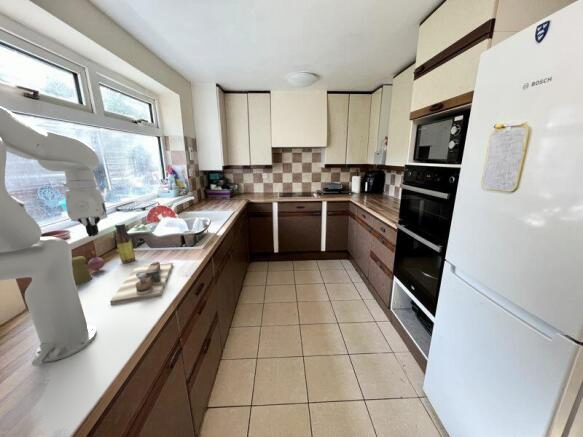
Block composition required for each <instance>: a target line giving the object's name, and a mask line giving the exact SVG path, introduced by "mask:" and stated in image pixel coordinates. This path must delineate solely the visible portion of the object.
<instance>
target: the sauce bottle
mask: <svg viewBox="0 0 583 437" xmlns="http://www.w3.org/2000/svg"><path fill="white" fill-rule="evenodd" d="M114 227H115V229H116V236H115V242H116V246H117V250H118V255H119V259H120V261H121V263H123V264H127V263H131V262H134V261H135V260H136V254H135V250H134V247H133V242H132V237H131V236H130V234H129V233H128V231H127V228H126V223H124V222H120V223H117V224H115V226H114Z"/></svg>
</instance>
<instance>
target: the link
mask: <svg viewBox="0 0 583 437" xmlns="http://www.w3.org/2000/svg"><path fill="white" fill-rule="evenodd" d="M160 264H161V263H160V261H155V262H152V263H150V264H149V265H148V266H149V268H148V269H147V271H150V270H157V269H159V270H160ZM137 278H138V279H140V281H139V282H137V283H136V289H137V291H138V292H144V291H147V290H149V289H151V287H152V282H153V280H154V277H153V274H152V275H146V273H142V274H139V275H138V276H137Z"/></svg>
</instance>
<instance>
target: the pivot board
mask: <svg viewBox="0 0 583 437" xmlns="http://www.w3.org/2000/svg"><path fill="white" fill-rule="evenodd" d="M173 265H174V264H173V262H167V263H160V270H159V269H157V270H150V271H147V269H148V268H149V266H150V265H145V266H137V267H134V268H133V270H132V271H131V273H130V274H129V275H128V276H127V277H126V279H125V281H124V282H123V283H122V284H121V286H120V287H119V289H118V290H117V291H116V292H115V294H114V295H113V296H112V298H111V299H110V301H109V302H110V305H111V306H112V305H119V304H124V303H127V302H128V303H129V302H136V301H140V300H141V301H142V300H147V299H151V298H152V299H153V298H157V297H161V296H162V293H163V291H164V288H165V286H166V284H167V281H168V279H169V276H170V273H171V271H172V268H173ZM142 273H146V275H152V274H153V277H154V280H153V282H152V287H151V289H149V290H147V291H144V292H138V291H137V289H136V283H137V282H139V281H140V279H138V278H137V276H138V275H139V274H142Z"/></svg>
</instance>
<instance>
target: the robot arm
mask: <svg viewBox="0 0 583 437" xmlns="http://www.w3.org/2000/svg"><path fill="white" fill-rule="evenodd" d="M8 153H10V154H12V155H15V156H18V157H20V158H23V159H27V160H34V161H37V163H38V164H39V166H41V167H42V168H44V169H45V170H47V171H51V172H64V175H65V179H66V182H64V183H63V184H62V186H63V187H64V188H67V189H68V190H65V206H66V211H67V216H68V218H70V220H71V222H76V223H77V222H79V223H80V224H81V225H83V226H84V227H85V231H86V234H87V235H88V237H95V236H97V235H98V234H99V227H98V224H99V222H101V221H102V220H105V219H107V218H108V215H107V207H106V206H107V205H106V203H105V200H104V197H103V194H102V192H101V191H100V190H101V189H99V188H97V187H98V186H97V182H96V179H95V173H94V170H95V169H97V168H98V167H99V163H100V160H99V156H98V154H97V152H96V150H94V148H93V147H91V146H90V145H89V144H87V143H86V142H84V141H82V140H80V139H78V138H75V137H73V136H68V135H65V134H60V133H56V132H54V131H49V130H46V129H42V128H38V127H37V126H36V125H34V124H32V123H30V122H29V121H26V120H25V119H23V118H22V117H20V116H18V115H16V114H15V113H13V112H12V111H9V110H8V109H6V108H4V107H3V106H0V281H8V280H16V279H24V278H31V282H30V283H29V284H28V286H27V288H26V290H25V292H24V299H25V303H26V305H27V308H28V311H29V314H30V317H31V320H32V323H33V326H34V328H35V331H36V334H37V338H38V340H39V342H40V344H39V345H38V347H37V349H36V350H35V351H34V352H35V353H34V355H35V358H34V359H33V360H32V361H31V365H32V366H33V367H40V366H41V365H42V364H43V363H46V362H47V363H49V362H50V363H51V362H54V361H59V360H62V359H64V358H68V357H70V356H72V355H75V354H76V353H78V352H79V351H81V350H83V349H84V348H86V347H87V346H89V344H91V343H92V341H93V340H94V339H95V337H96V336H97V329H96V327H95V326H93V325H89V324H88V323H87V319H86V316H85V313H84V309H83V305H82V303H81V298H80V294H79V291H78V288H77V284H75V280H74V276H73V266H72V258H73V257H72V247H71V246H70V243H68V241H67V240H66V239H63V238H60V237H57V236H56V237H55V236H42V233H43V232H42V229H41V227H40V225H39V224H38V222H37V221H36V220H35V219H34V218H33V217H32V215H30V214H29V213H28V212H27V211H26V210H25V209H24V208H23V207H22V206H21V204H19V203H18V202H17V201H16V200H15V199H14V197H13V196H12V195H11V194H10V193H9V192H8V190H7V187H6V179H5V178H6V166H7V165H6V163H7V154H8Z"/></svg>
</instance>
